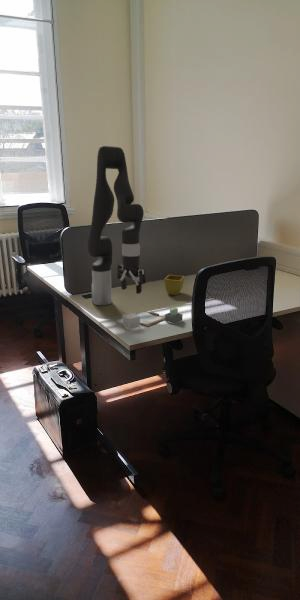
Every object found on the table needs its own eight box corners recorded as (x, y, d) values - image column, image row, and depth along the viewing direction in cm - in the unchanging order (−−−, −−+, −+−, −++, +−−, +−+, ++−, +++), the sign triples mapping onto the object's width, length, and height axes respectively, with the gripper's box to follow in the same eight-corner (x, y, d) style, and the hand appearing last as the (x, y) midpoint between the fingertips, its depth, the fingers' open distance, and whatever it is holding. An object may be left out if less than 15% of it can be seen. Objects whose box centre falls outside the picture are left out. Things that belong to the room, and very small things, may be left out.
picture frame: (124, 318, 196) (124, 316, 195) (144, 311, 205) (144, 309, 205) (147, 327, 187) (147, 324, 187) (166, 318, 196) (166, 316, 196)
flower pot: (179, 297, 226) (180, 280, 223) (163, 295, 229) (164, 278, 226) (183, 292, 234) (184, 276, 231) (168, 290, 236) (168, 274, 234)
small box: (140, 326, 187) (140, 316, 186) (129, 329, 184) (129, 319, 183) (133, 322, 192) (133, 312, 190) (122, 325, 189) (122, 315, 187)
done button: (168, 317, 194) (168, 309, 192) (173, 315, 196) (173, 307, 195) (174, 319, 191) (174, 311, 190) (179, 317, 194) (179, 309, 193)
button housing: (164, 320, 194) (164, 314, 193) (172, 317, 198) (172, 311, 197) (174, 323, 191) (174, 317, 190) (182, 320, 194) (182, 314, 193)
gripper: (112, 252, 179) (113, 289, 185) (137, 257, 170) (137, 296, 176) (125, 249, 185) (125, 286, 190) (149, 254, 176) (149, 292, 181)
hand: (131, 291), depth 183 cm, fingers open, 8 cm apart
